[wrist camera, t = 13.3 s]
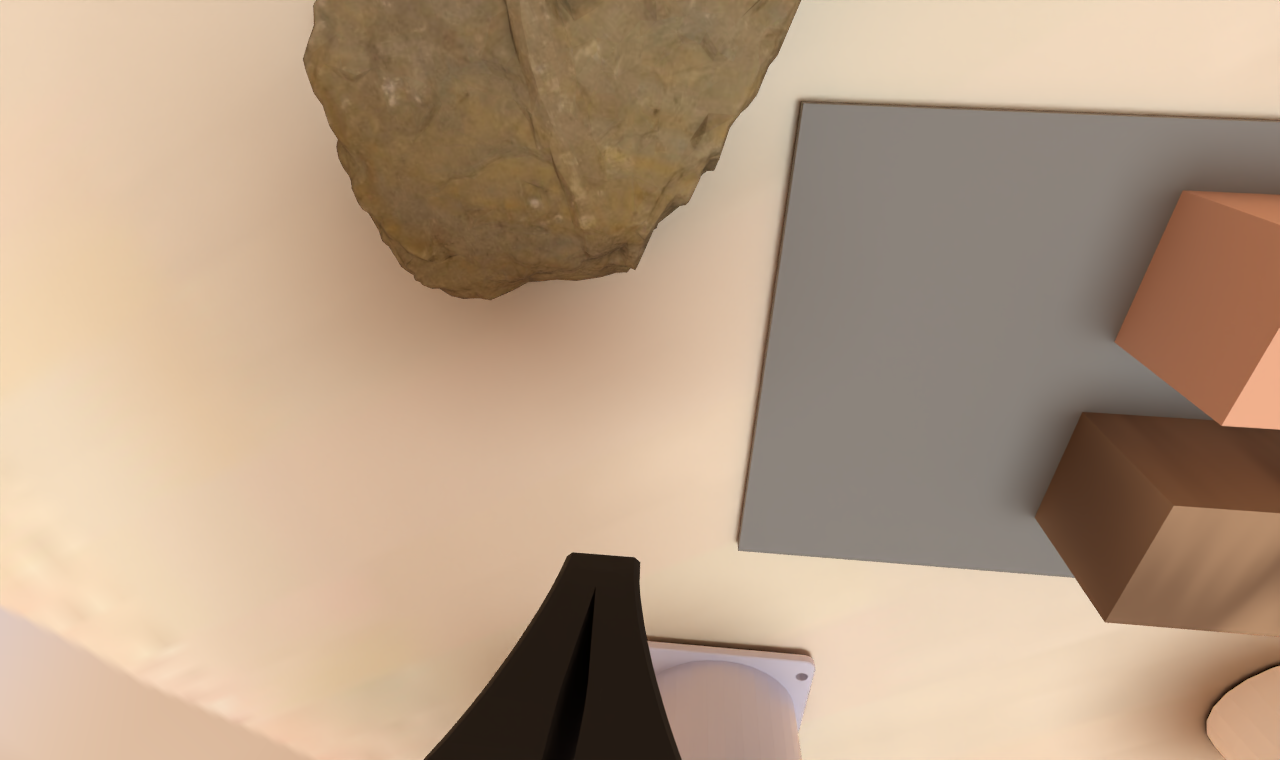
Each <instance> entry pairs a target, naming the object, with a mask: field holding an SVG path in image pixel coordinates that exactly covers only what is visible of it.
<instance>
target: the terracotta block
mask: <svg viewBox="0 0 1280 760" xmlns="http://www.w3.org/2000/svg"><path fill="white" fill-rule="evenodd" d="M1115 343H1116V344H1117V345H1118V346H1120V347H1121V348H1122V349H1124V350H1125V351H1126V352H1127V353H1129V354H1130V355H1131V356H1133V357H1134V358H1135V359H1136V360H1138V361H1139V362H1140V363H1142V364H1143V365H1144V366H1145V367H1147V368H1148V369H1149V370H1151V371H1152V372H1153V373H1154V374H1156V375H1157V376H1158V377H1160V378H1161V379H1162V380H1163V381H1165V382H1166V383H1167V384H1169V385H1170V386H1171V387H1172V388H1174V389H1175V390H1176V391H1178V392H1179V393H1180V394H1181V395H1183V396H1184V397H1185V398H1186V399H1188V400H1189V401H1190V402H1192V403H1193V404H1194V405H1195V406H1197V407H1198V408H1199V409H1201V410H1202V411H1203V412H1204V413H1206V414H1207V415H1208V416H1210V417H1211V418H1212V419H1213V420H1215V421H1216V422H1217V423H1219V424H1220V425H1221V426H1232V427H1248V428H1263V429H1278V430H1280V195H1274V194H1252V193H1229V192H1207V191H1184V190H1183V191H1182V193H1181V196H1180V198H1179V200H1178V202H1177V204H1176V207H1175V209H1174V211H1173V213H1172V216H1171V218H1170V220H1169V222H1168V224H1167V227H1166V229H1165V231H1164V233H1163V235H1162V238H1161V240H1160V242H1159V244H1158V247H1157V249H1156V251H1155V253H1154V255H1153V258H1152V260H1151V262H1150V264H1149V266H1148V269H1147V271H1146V273H1145V275H1144V278H1143V280H1142V282H1141V284H1140V286H1139V289H1138V291H1137V293H1136V295H1135V297H1134V300H1133V302H1132V304H1131V306H1130V308H1129V311H1128V313H1127V315H1126V317H1125V320H1124V322H1123V324H1122V326H1121V328H1120V331H1119V333H1118V335H1117V337H1116V339H1115Z"/></svg>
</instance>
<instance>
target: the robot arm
mask: <svg viewBox="0 0 1280 760" xmlns="http://www.w3.org/2000/svg"><path fill="white" fill-rule="evenodd" d="M639 579H640V562H639V561H638V560H637V559H636V558H634V557H622V556H610V555H598V554H585V553H571V554H570V555H568V556H567V558H566V560H565V562H564V564H563V566H562V569H561V570H560V572H559V574H558V576H557V578H556V580H555V582H554V584H553V586H552V588H551V589H550V591H549V593H548V595H547V596H546V598H545V600H544V601H543V603H542V605H541V607H540V608H539V610H538V612H537V613H536V615H535V616H534V618H533V619H532V621H531V622H530V624H529V626H528V627H527V629H526V630H525V632H524V633H523V635H522V636H521V638H520V639H519V641H518V643H517V644H516V645H515V647H514V648H513V650H512V651H511V653H510V654H509V655H508V657H507V658H506V659H505V661H504V662H503V664H502V665H501V666H500V668H499V669H498V670H497V672H496V673H495V675H494V676H493V677H492V679H491V680H490V681H489V683H488V684H487V685H486V687H485V688H484V689H483V691H482V692H481V693H480V694H479V696H478V697H477V698H476V700H475V701H474V702H473V703H472V705H471V706H470V707H469V708H468V709H467V711H466V712H465V713H464V714H463V715H462V717H461V718H460V719H459V720H458V721H457V723H456V724H455V725H454V726H453V727H452V729H451V730H450V731H449V732H448V733H447V734H446V735H445V737H444V738H443V739H442V740H441V741H440V742H439V743H438V744H437V745H436V746H435V748H434V749H433V750H432V751H431V752H430V753H429V754H428V755H427V756H426V757H425V759H424V760H802V758H801V751H800V744H799V736H798V733H799V729H800V725H801V721H802V717H803V714H804V710H805V706H806V702H807V699H808V695H809V691H810V687H811V683H812V680H813V676H814V672H815V664H814V660H813V659H812V658H811V657H809V656H807V655H799V654H788V653H777V652H766V651H754V650H743V649H732V648H721V647H709V646H698V645H687V644H676V643H665V642H653V641H647V636H646V632H645V626H644V620H643V613H642V606H641V598H640V585H639Z"/></svg>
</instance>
